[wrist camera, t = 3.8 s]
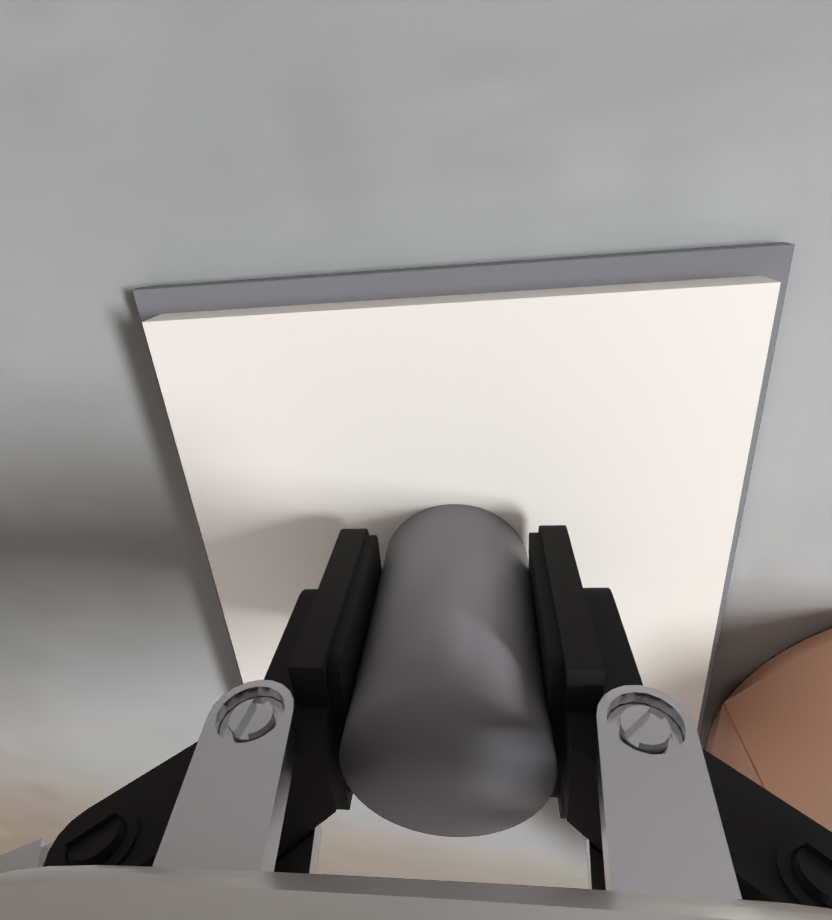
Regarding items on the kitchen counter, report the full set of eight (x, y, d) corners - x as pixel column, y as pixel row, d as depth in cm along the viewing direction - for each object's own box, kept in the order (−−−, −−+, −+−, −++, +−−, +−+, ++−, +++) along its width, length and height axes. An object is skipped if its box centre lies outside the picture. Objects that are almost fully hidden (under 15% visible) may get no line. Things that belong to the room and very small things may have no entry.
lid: (162, 313, 12) (-84, 416, 7) (759, 275, 10) (1042, 366, 5) (267, 714, 17) (175, 953, 12) (682, 723, 15) (789, 997, 10)
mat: (142, 286, 12) (132, 290, 12) (783, 242, 11) (794, 244, 10) (259, 714, 17) (254, 726, 17) (695, 723, 16) (700, 736, 16)
